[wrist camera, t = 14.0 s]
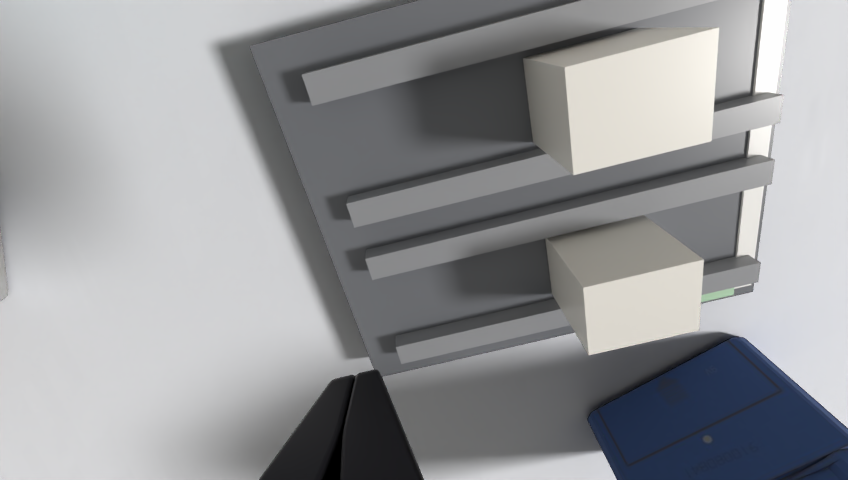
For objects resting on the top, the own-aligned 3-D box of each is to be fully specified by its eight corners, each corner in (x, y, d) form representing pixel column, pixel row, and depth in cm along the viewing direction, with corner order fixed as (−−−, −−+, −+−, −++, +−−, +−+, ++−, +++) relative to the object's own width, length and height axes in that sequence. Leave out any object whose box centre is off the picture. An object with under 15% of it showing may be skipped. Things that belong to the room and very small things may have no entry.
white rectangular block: (533, 142, 16) (573, 175, 12) (522, 57, 15) (564, 67, 11) (639, 116, 16) (711, 141, 12) (638, 27, 15) (719, 27, 11)
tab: (552, 294, 19) (589, 355, 16) (544, 235, 18) (583, 287, 14) (641, 273, 19) (699, 330, 15) (640, 212, 18) (703, 259, 14)
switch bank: (378, 356, 22) (376, 390, 20) (261, 44, 15) (241, 46, 13) (729, 275, 21) (766, 301, 19) (767, -92, 15) (828, -112, 12)
